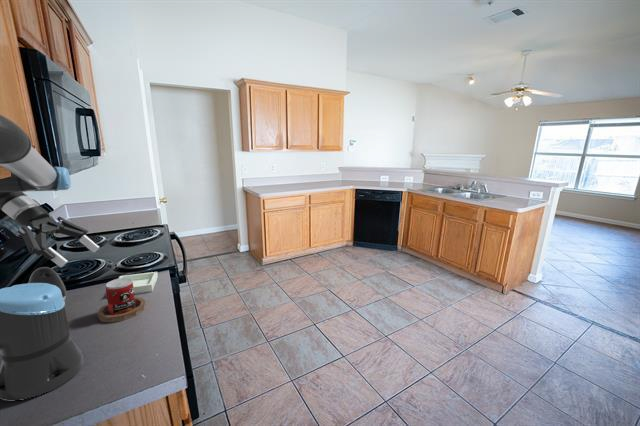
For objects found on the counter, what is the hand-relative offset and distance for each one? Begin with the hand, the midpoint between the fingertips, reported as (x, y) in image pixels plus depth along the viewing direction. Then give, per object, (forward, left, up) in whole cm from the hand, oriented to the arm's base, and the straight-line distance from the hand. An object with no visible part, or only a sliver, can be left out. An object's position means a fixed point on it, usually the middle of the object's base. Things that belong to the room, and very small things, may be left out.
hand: (81, 256), depth 94 cm
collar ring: (-5, -11, -20) cm, 23 cm away
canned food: (-5, -11, -20) cm, 23 cm away
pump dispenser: (+7, +14, -20) cm, 25 cm away
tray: (+15, -11, -20) cm, 27 cm away
